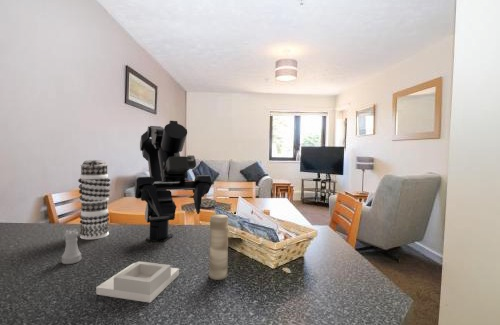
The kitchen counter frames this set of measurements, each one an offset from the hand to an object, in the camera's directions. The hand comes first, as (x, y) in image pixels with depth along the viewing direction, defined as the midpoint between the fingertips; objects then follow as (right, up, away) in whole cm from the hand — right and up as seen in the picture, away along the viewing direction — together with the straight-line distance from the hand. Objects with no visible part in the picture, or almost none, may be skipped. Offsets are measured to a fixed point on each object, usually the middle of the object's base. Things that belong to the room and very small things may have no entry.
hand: (180, 215), depth 65 cm
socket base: (-7, -14, -6) cm, 17 cm away
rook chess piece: (-29, -13, +5) cm, 32 cm away
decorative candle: (-35, -12, +26) cm, 45 cm away
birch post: (+9, -14, -1) cm, 17 cm away
